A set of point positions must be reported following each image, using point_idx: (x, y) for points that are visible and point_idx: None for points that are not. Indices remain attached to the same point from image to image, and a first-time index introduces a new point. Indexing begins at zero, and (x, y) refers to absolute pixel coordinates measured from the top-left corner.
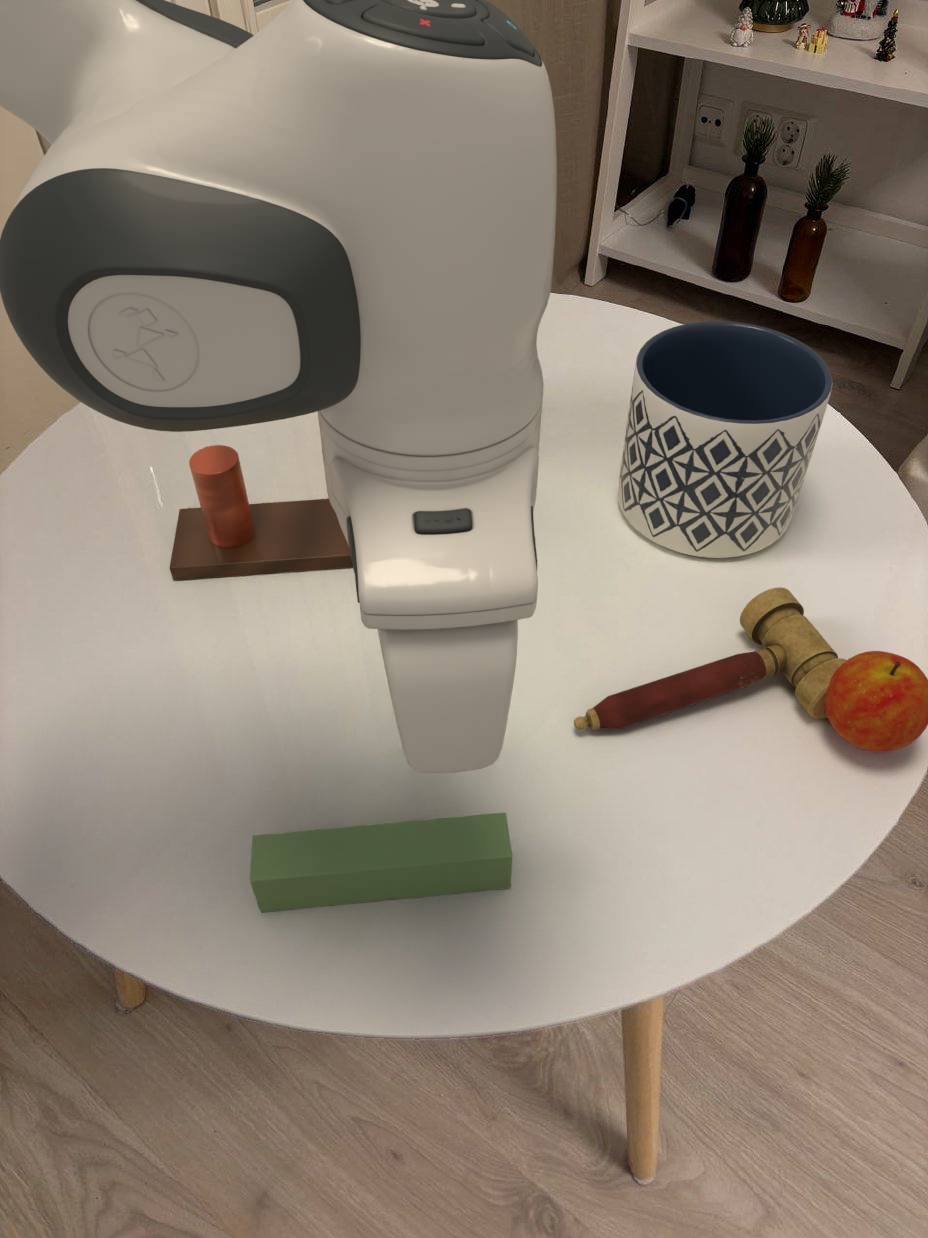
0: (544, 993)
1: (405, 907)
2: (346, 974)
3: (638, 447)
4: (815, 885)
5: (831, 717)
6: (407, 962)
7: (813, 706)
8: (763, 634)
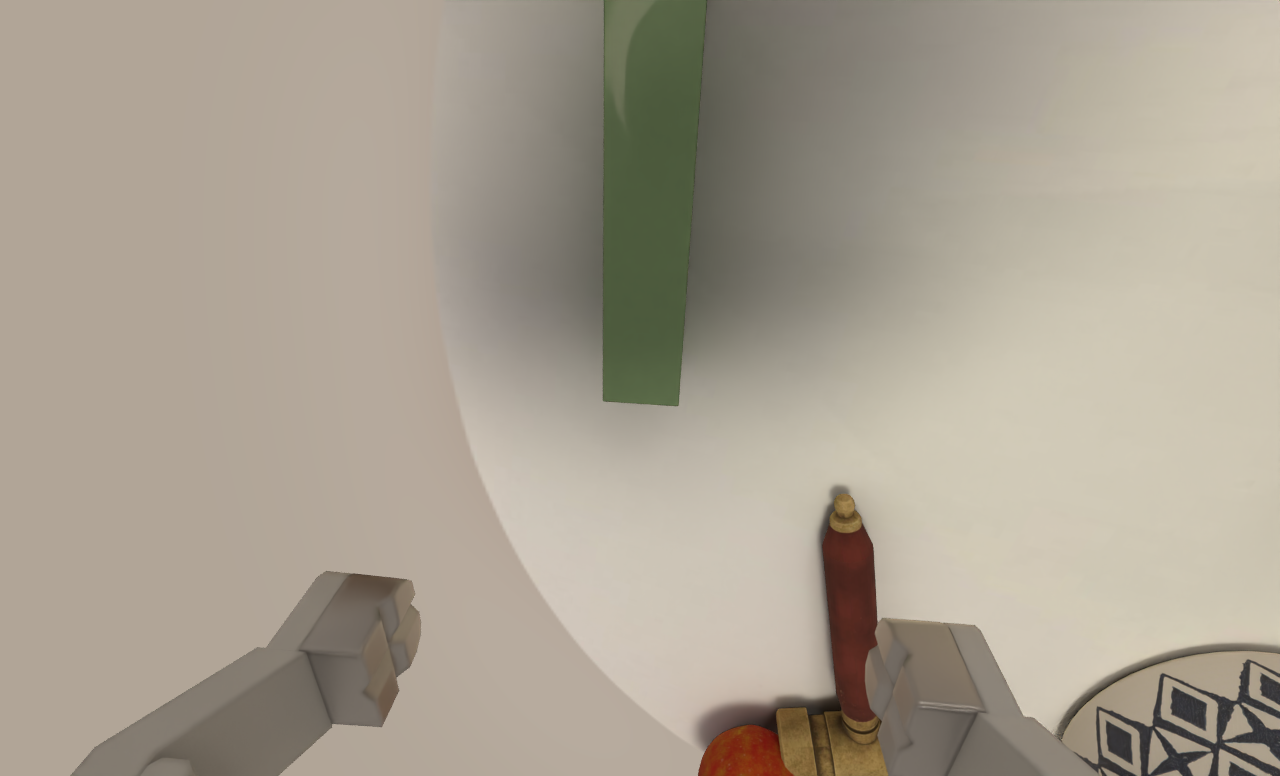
0: (474, 371)
1: (602, 215)
2: (504, 115)
3: None
4: (581, 638)
5: (750, 743)
6: (519, 209)
7: (778, 729)
8: None
